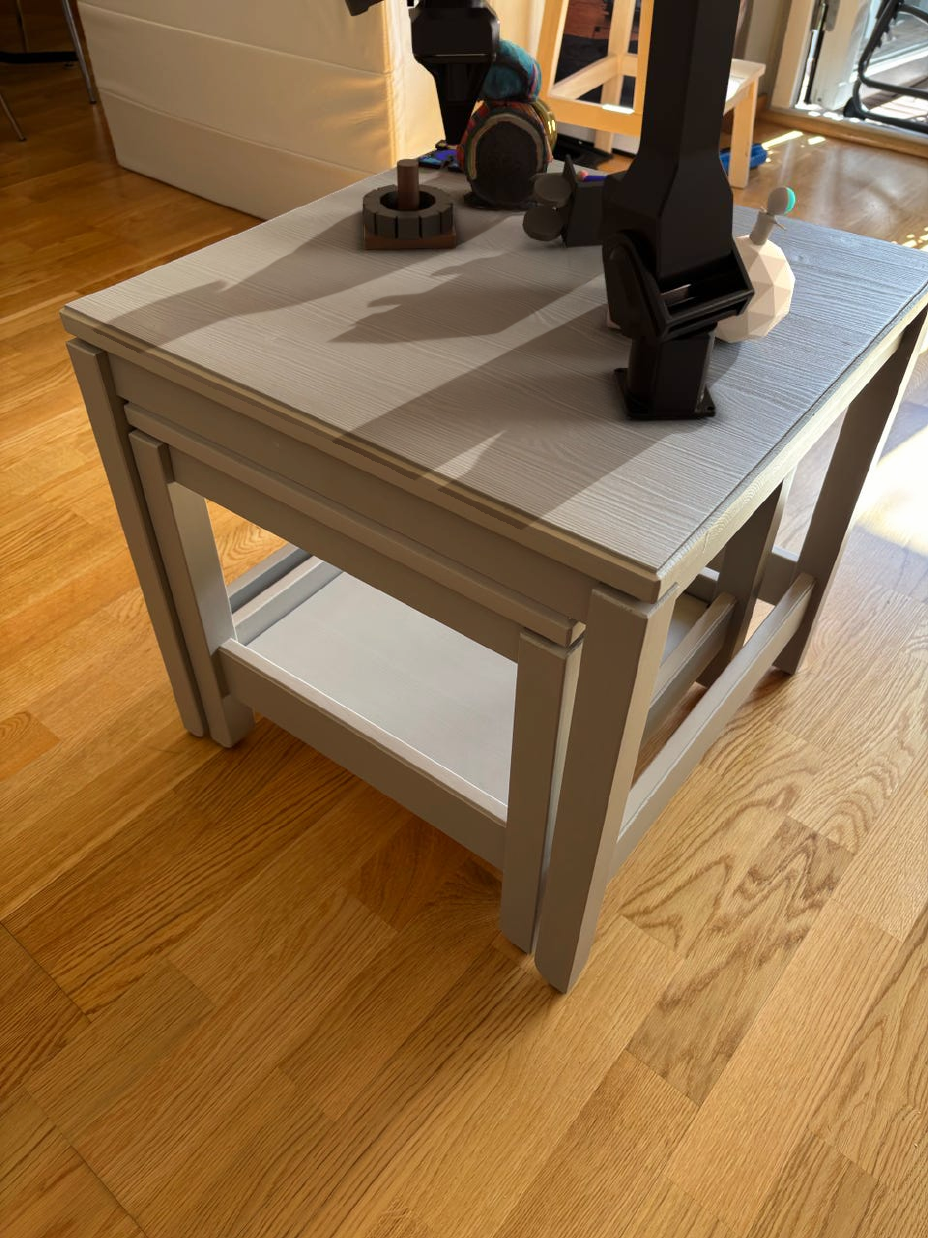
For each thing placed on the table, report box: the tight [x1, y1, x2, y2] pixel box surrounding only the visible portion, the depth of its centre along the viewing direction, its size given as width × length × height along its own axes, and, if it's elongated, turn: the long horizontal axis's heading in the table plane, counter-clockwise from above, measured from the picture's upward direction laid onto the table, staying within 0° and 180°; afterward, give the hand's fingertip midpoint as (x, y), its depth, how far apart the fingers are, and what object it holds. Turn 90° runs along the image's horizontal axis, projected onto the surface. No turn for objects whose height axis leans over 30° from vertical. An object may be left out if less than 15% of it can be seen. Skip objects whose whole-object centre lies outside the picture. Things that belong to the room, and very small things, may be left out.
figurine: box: [456, 37, 554, 212], centre depth 93 cm, size 10×7×15 cm
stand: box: [363, 158, 457, 250], centre depth 90 cm, size 8×8×6 cm
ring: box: [361, 183, 454, 240], centre depth 90 cm, size 8×8×2 cm
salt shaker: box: [527, 96, 558, 153], centre depth 103 cm, size 7×7×10 cm
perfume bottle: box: [715, 185, 796, 344], centre depth 74 cm, size 8×8×12 cm
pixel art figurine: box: [415, 139, 465, 174], centre depth 108 cm, size 6×1×12 cm
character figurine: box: [521, 154, 607, 249], centre depth 89 cm, size 8×7×15 cm
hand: (449, 126), depth 80 cm, fingers open, 9 cm apart
